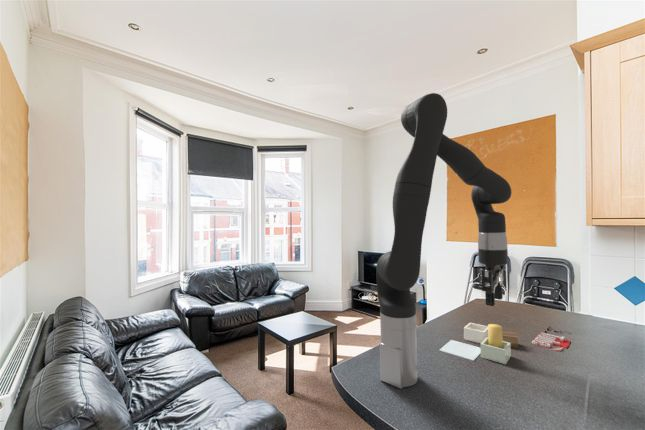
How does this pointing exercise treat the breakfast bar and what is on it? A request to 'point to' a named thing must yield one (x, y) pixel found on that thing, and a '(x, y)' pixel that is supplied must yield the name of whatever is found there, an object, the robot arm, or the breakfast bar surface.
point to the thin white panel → (461, 350)
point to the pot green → (495, 352)
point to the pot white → (475, 332)
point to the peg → (495, 335)
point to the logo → (551, 341)
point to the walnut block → (510, 338)
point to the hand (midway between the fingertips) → (494, 302)
